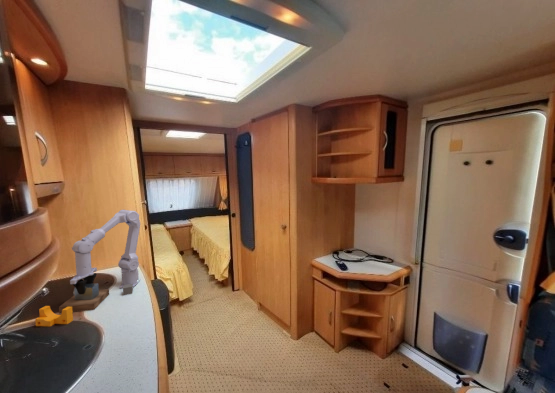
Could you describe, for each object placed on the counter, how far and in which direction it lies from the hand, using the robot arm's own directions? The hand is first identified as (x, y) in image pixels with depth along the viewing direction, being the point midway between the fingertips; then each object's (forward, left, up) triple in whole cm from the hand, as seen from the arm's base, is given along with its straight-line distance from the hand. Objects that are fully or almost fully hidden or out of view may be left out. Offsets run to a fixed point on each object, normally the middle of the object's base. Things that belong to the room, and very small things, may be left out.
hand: (85, 291), depth 110 cm
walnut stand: (0, 0, -6) cm, 6 cm away
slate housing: (0, +1, -3) cm, 3 cm away
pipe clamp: (+15, -4, -7) cm, 17 cm away
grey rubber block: (-7, +16, -6) cm, 19 cm away
